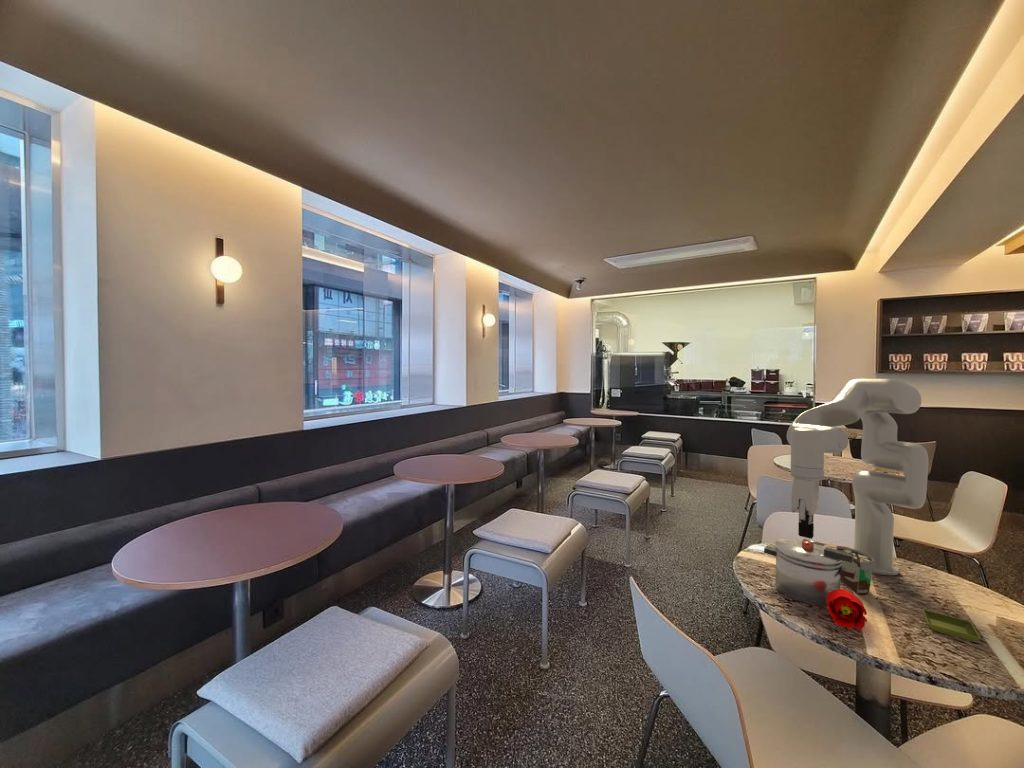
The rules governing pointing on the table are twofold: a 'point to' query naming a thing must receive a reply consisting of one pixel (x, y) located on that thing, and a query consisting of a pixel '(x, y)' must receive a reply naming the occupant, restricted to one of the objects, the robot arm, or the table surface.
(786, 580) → the cooker pot
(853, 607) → the flower
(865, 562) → the food container
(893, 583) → the table surface
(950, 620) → the green shallow tray
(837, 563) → the cooker lid
